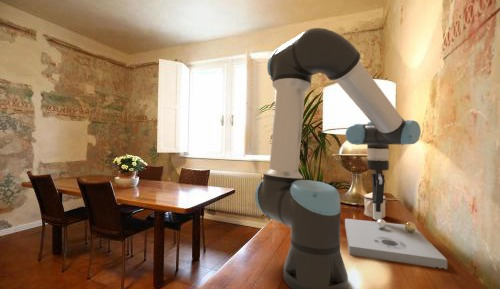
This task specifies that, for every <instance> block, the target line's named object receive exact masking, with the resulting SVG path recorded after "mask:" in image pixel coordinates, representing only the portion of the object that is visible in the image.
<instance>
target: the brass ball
mask: <svg viewBox="0 0 500 289" xmlns="http://www.w3.org/2000/svg"><path fill="white" fill-rule="evenodd" d="M404 225H405V229H406V230H407V231H408V232H414V231H416V229H417V226H416V224H415V223H414V222H412V221H408V222H406V223H405V224H404Z"/></svg>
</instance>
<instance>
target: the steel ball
mask: <svg viewBox="0 0 500 289" xmlns="http://www.w3.org/2000/svg"><path fill="white" fill-rule="evenodd" d="M375 222H376V225H377V227H378V228H380V229H385V228H386V227H387V223H388V222H387V221H385V220H384V218H382V219H379V220H376V221H375Z"/></svg>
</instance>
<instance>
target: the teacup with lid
mask: <svg viewBox="0 0 500 289" xmlns="http://www.w3.org/2000/svg"><path fill="white" fill-rule="evenodd" d="M372 197H373V196H372V192H369V193H366V194H364V195H363V198H364V202H363V203H364V205H363V206H364V208H363V209H364V210H363V211H364V212H363V214H364V216H366V217H369V218H372V219H373V203H372V201H373V198H372ZM386 200H387V198H386V196H385V195H383V203H382V219H384V218H385V217H386Z"/></svg>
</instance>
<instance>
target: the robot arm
mask: <svg viewBox="0 0 500 289" xmlns="http://www.w3.org/2000/svg"><path fill="white" fill-rule="evenodd" d="M361 59H362V56H361V54H360V52H359V51H358V49H357V48H356V47H355V45H354V44H352V43H351V42H350V41H349V40H348V39H347V38H345V37H344V36H342V35H341V34H339V33H337V32H335V31H333V30H330V29H327V28H322V27H314V28H309V29H307V30H305V31H303V32H302V33H300V34H298V35H297V36H295V37H294V38H292V39H289V41H287V42H286V43H284V44H281V45H279V46H278V47H277V48H276V49H275V50H274V51H273V52H272V53H271V54H270V56H269V58H268V61H267V67H266V68H267V74H268V75H269V76H270V77H269V78H270V81H272V83H271V84H272V87H273V88H274V89H275V91H276V93H275V94H276V95H275V105H274V106H275V107H274V115H273V116H274V117H273V126H272V127H273V128H272V137H271V147H270V157H269V158H270V159H269V168H268V169H267V170H266V171H264V173H263V178H262V180H261V181H260V182H259V184H257V186H256V188H255V191H254V192H255V193H254V199H255V200H254V202H255V204H256V206H257V208H258V210H259V211H260V212H261V213H262V214H263V215H265V216H266V217H268V218H269V219H272V220H274V221H276V222H278V223H281V224H282V225H284V226H287V227H288V228H290V247H289V249H288V252H287V255H286V257H285V258H286V259H285V261H284V264H283V274H282V275H283V280H284V283H285V284H286V285H287V286H288V287H289V288H291V289H348V286H349V276H348V272H347V268H346V266H345V262H344V259H343V257H342V253H341V212H342V206H341V195H340V193H339V191H338V189H337V188H336V187H334V186H333V185H330V184H328V183H325V182H323V181H318V180H317V181H314V180H310V179H304V176H303V175H302V174H301V173H300V172H299V165H300V164H299V163H300V155H301V154H300V152H301V144H302V142H301V141H302V132H303V131H302V130H303V118H304V111H305V110H304V108H305V98H306V97H305V96H306V92H307V91H308V90H309V89H310V88H311V86H312V76H314V75H317V74H322V75H325V77H326V78H327V79H328V80H329V81H333V82H334V81H335V82H336V84H338V85H339V86H340V87H341V89H342V91H344V93H346V95H347V96H348V97H349V98H350V99H351V101H352V102H353V103H354V104H355V105H356V106H357V107H358V108H359V109H360V111H361V112H362V113H363V114H364V116H366V118H367V119H368V120H369V121H367V123H354V124H350V125H348V127H347V128H346V131H345V139H346V141H347V142H348V143H349V144H351V145H356V146H357V145H358V146H359V145H363V146H365V145H366V147H367V148H366V158H367V161H366V168H367V170H370V171H372V173H371V190H372V191H371V193H372V196H373V197H372V198H373V201H372V203H373V218H372V219H373V220H375V221H377V220H379V219H383V218H382V203H383V196H384V194H385V192H384V191H385V190H384V189H385V181H386V180H385V175H384V173H383V171H389V168H390V166H389V165H390V161H389V160H388V159H390V158H389V155H390V154H391V151H389V148H390V146H389V145H400V146H404V145H415V144H417V143H418V142H419V141H420V137H421V133H422V132H421V127H420V124H419V123H418V121H415V120H410V119H407V120H405V119H404V118H403V117H402V116H401V114H400V113H399V112H398V110H397V109H396V108H395V106H394V105H393V103H392V102H391V101H390V100H389V98H388V97H387V95H386V94H385V93H384V92H383V90H382V89H381V88H380V86H379V85H378V84H377V82H376V81H375V80H374V79H373V77H372V75H370V73H369V72H368V71H367V69H366V68H365V66H364V65H363V63H362V62H361Z"/></svg>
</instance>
